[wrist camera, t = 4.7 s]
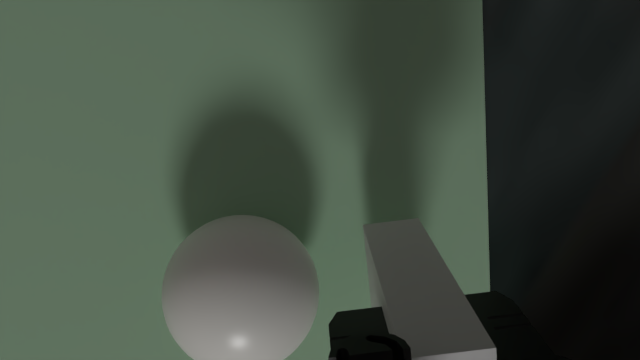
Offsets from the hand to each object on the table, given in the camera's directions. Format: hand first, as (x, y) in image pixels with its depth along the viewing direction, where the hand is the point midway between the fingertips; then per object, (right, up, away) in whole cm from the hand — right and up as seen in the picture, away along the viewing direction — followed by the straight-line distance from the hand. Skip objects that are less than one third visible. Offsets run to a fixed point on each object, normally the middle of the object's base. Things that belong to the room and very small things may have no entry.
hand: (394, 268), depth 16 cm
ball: (-4, -1, -1) cm, 4 cm away
